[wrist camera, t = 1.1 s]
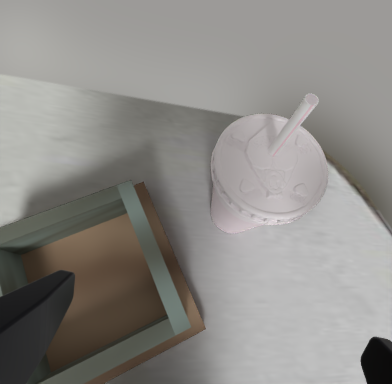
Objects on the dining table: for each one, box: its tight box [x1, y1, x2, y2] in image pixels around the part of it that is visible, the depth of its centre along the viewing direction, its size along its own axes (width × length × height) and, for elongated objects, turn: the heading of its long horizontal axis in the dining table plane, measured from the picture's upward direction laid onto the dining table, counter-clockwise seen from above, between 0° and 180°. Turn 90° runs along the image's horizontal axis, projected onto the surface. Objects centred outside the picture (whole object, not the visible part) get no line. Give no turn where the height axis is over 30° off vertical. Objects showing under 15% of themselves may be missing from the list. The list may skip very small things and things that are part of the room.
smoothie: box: [210, 94, 328, 233], centre depth 17 cm, size 6×6×14 cm
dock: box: [0, 180, 206, 384], centre depth 18 cm, size 12×12×5 cm
